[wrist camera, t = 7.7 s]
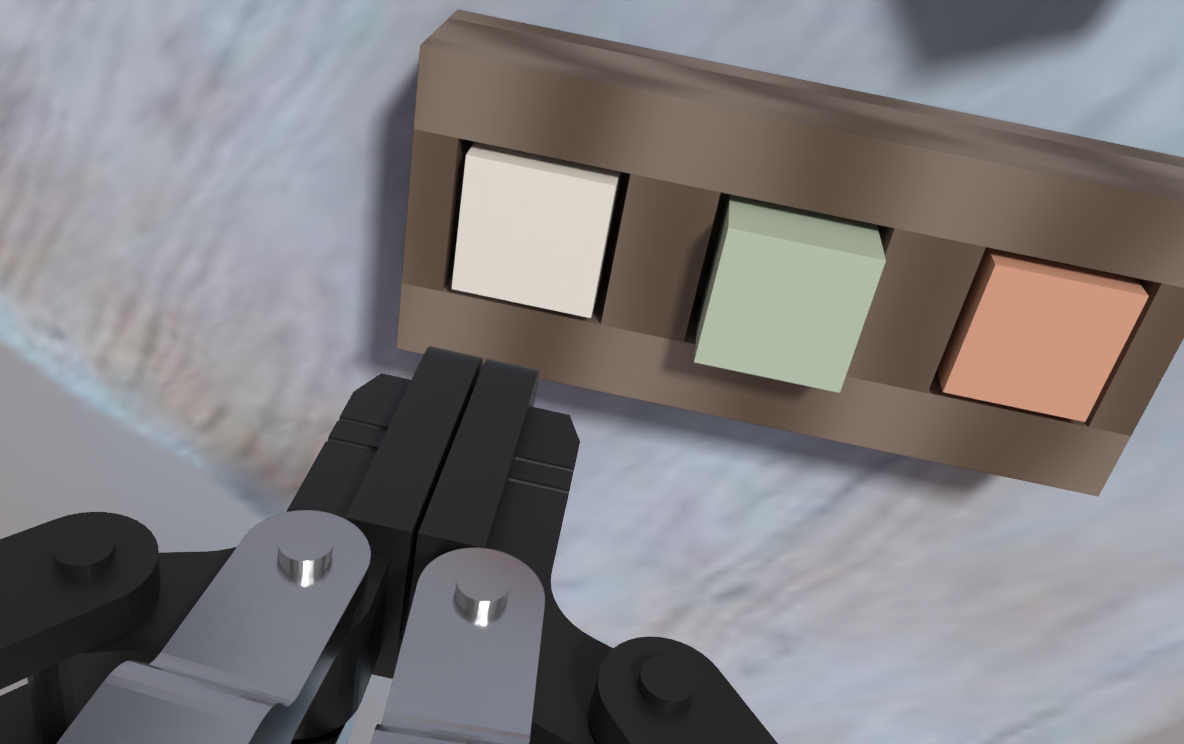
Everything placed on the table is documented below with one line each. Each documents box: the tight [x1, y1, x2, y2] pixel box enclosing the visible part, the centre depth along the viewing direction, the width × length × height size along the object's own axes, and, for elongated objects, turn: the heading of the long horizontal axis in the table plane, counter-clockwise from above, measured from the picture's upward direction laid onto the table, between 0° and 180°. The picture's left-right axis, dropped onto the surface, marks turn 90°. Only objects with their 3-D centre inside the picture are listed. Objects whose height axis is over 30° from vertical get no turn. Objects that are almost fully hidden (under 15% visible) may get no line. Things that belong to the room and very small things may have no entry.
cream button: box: [452, 142, 623, 318], centre depth 30 cm, size 4×4×3 cm
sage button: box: [694, 194, 886, 393], centre depth 29 cm, size 4×4×3 cm
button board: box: [397, 10, 1184, 496], centre depth 30 cm, size 21×9×4 cm, turn 81°
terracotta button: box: [937, 247, 1149, 422], centre depth 30 cm, size 4×4×3 cm
